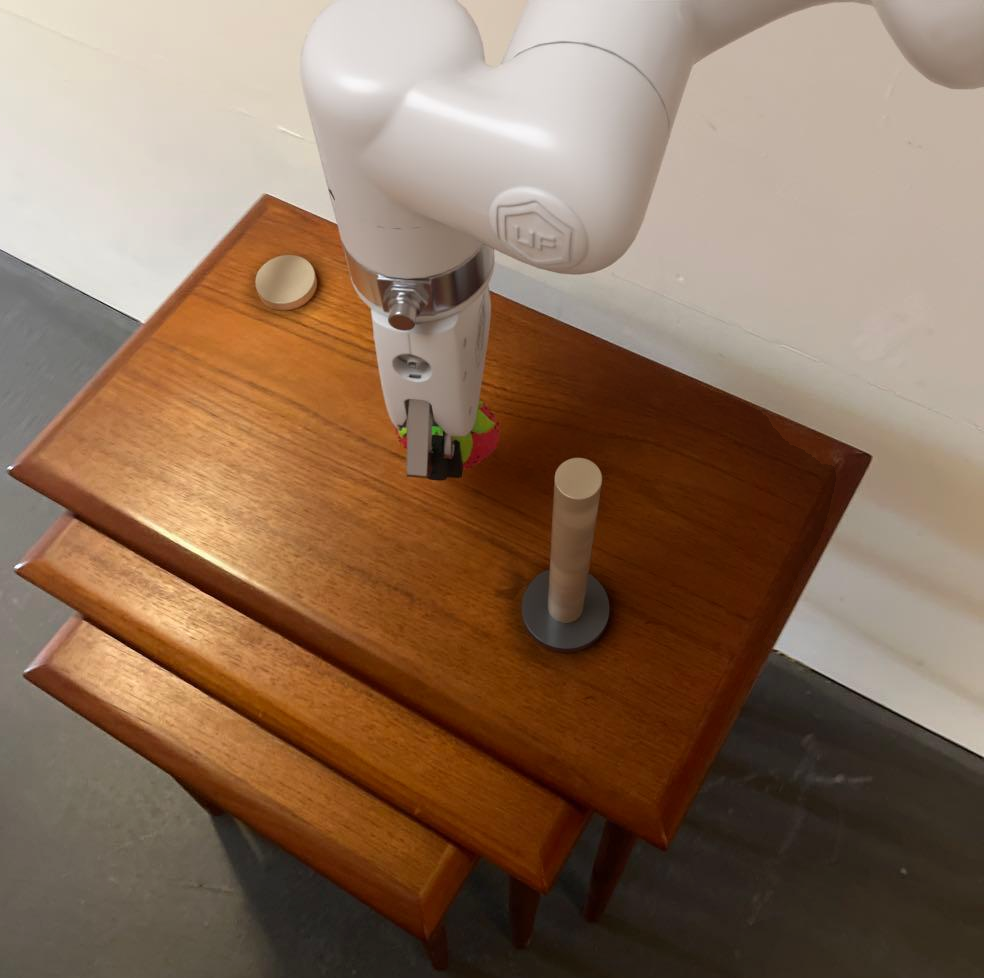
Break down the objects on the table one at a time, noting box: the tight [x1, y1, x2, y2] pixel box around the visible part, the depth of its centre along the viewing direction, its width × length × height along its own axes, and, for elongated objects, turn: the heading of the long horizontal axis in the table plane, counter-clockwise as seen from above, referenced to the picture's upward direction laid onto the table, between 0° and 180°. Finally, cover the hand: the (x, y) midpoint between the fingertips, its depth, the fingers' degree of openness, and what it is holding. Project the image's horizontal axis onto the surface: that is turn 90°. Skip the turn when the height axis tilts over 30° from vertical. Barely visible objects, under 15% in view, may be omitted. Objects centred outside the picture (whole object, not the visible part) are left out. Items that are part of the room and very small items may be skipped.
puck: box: [254, 254, 318, 312], centre depth 81 cm, size 5×5×1 cm
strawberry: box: [392, 399, 501, 470], centre depth 65 cm, size 6×7×10 cm
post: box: [521, 457, 611, 654], centre depth 58 cm, size 6×6×20 cm
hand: (446, 426), depth 65 cm, fingers closed on strawberry, 6 cm apart
